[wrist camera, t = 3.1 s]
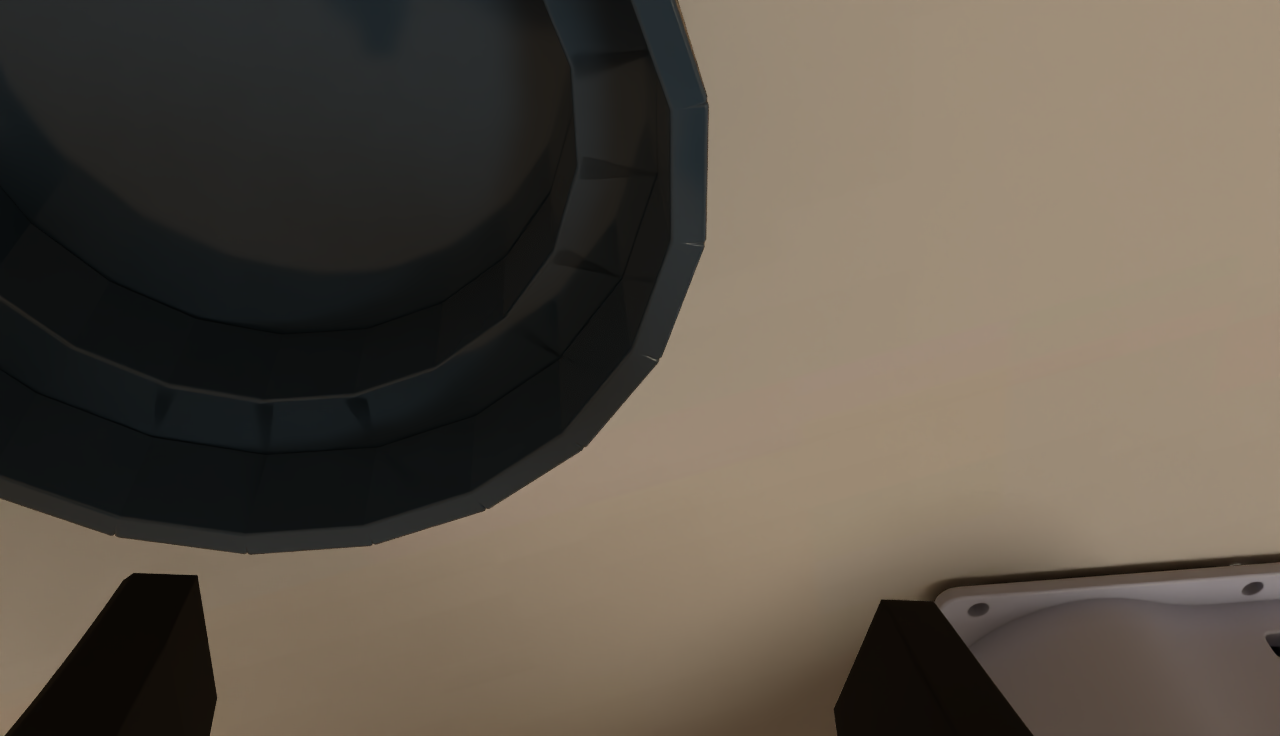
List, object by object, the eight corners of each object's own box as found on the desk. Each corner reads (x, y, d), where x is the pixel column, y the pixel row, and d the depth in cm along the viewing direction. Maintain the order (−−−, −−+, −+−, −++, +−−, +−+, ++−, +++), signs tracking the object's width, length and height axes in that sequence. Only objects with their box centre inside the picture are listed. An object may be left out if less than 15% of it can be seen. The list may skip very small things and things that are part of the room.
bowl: (671, -458, 13) (720, -455, 10) (673, 359, 21) (701, 523, 18) (-412, -428, 13) (-775, -412, 9) (13, 402, 21) (-94, 580, 17)
